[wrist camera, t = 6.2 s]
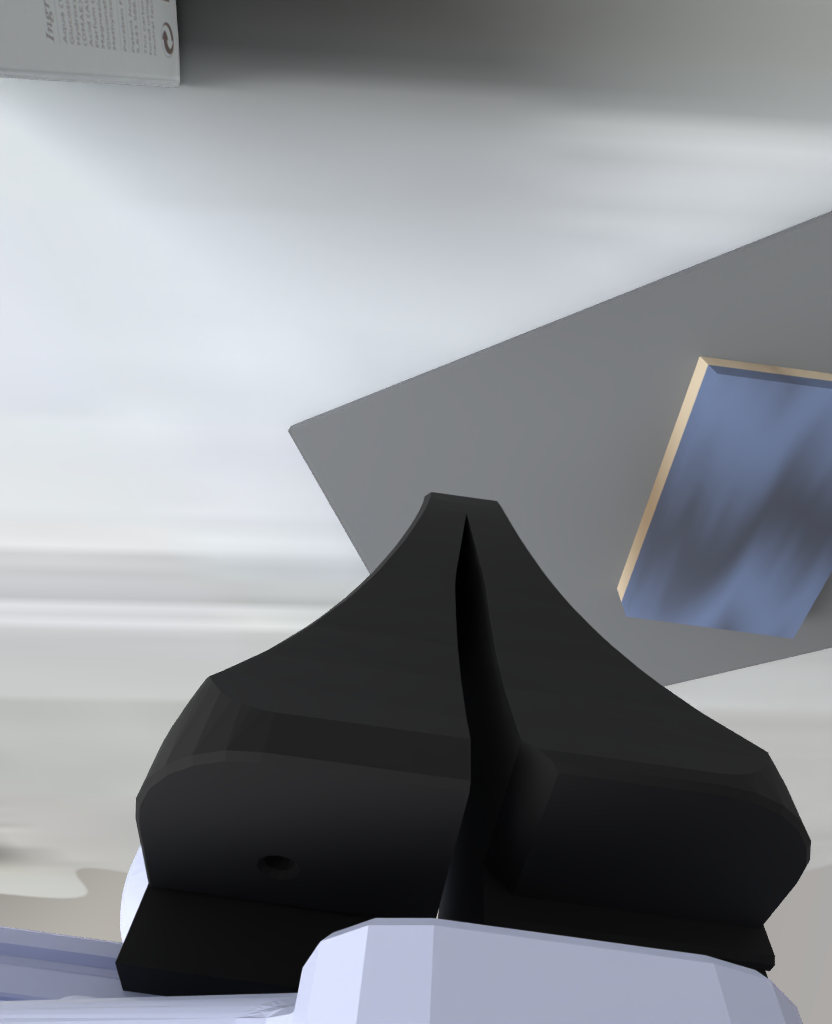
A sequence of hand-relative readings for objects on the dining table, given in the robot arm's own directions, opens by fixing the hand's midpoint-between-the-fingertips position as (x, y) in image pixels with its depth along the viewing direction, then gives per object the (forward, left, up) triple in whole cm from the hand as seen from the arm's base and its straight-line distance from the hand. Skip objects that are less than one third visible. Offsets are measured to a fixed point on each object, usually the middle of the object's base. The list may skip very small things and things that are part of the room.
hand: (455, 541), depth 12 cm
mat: (+4, -8, -10) cm, 13 cm away
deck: (+5, -6, -9) cm, 12 cm away
